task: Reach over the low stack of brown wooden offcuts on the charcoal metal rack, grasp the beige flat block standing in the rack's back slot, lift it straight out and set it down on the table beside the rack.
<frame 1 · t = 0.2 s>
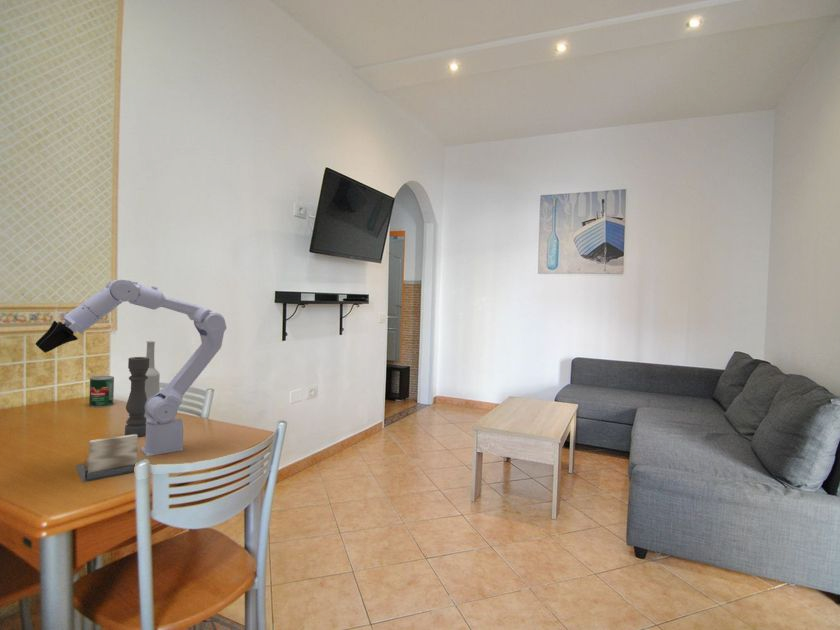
hand: (39, 348, 112), 31 cm above the table, fingers open, 7 cm apart
beige flat block: (112, 473, 114), resting on rack
rack: (109, 469, 117), on the table
canned tomato: (101, 405, 179), on the table
offcut stack: (107, 463, 120), resting on rack
bottle: (147, 417, 165), on the table
candle holder: (136, 436, 145), on the table
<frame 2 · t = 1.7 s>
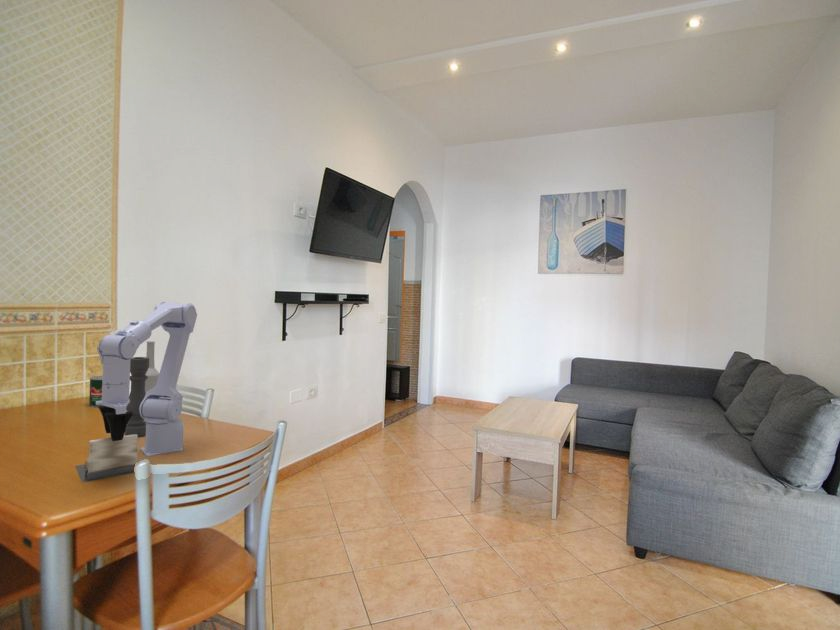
hand: (114, 436, 114), 10 cm above the table, fingers open, 7 cm apart
nothing on the table moved.
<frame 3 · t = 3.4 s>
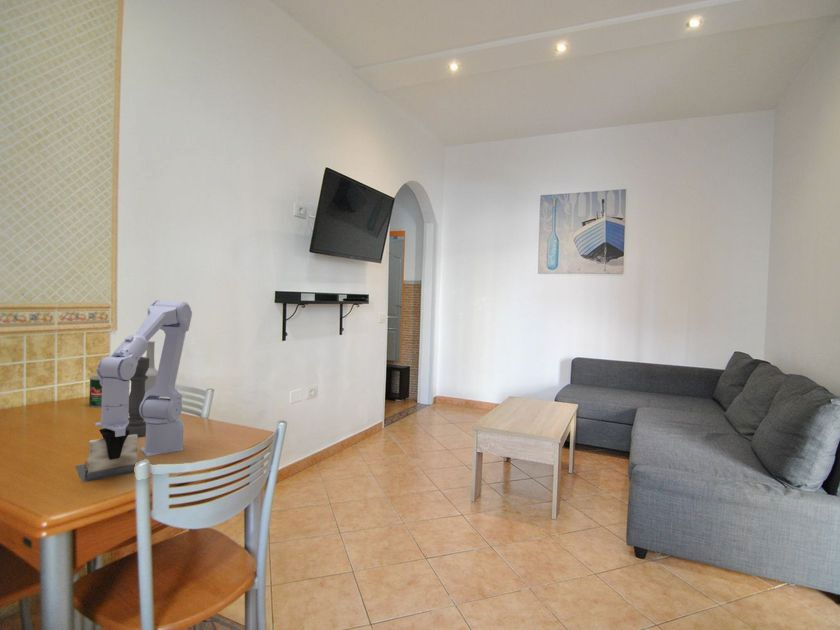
hand: (113, 457, 114), 4 cm above the table, fingers closed on beige flat block, 1 cm apart
beige flat block: (112, 473, 114), resting on rack, touching gripper
everything else where it was.
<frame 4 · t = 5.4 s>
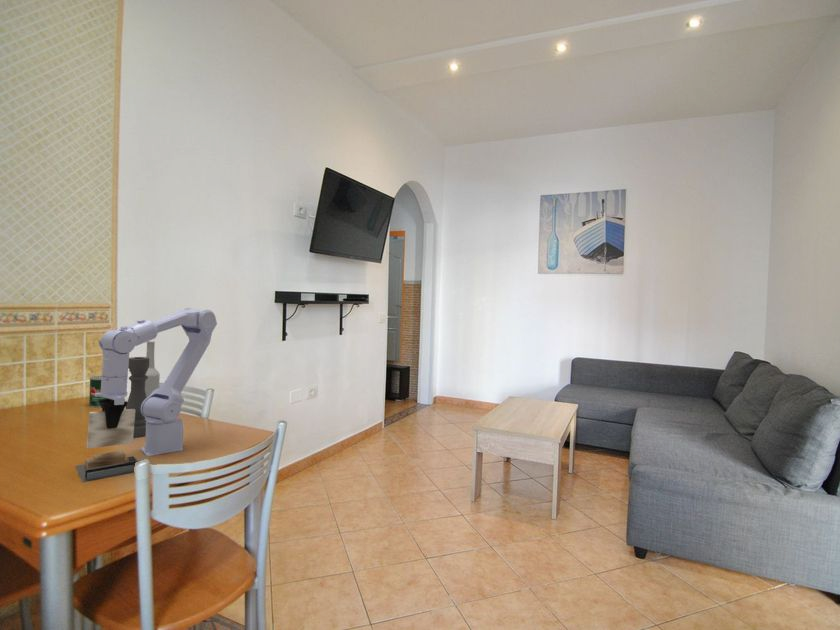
hand: (111, 427, 119), 10 cm above the table, fingers closed on beige flat block
beige flat block: (110, 444, 119), point 6 cm above the table, touching gripper
everything else where it was.
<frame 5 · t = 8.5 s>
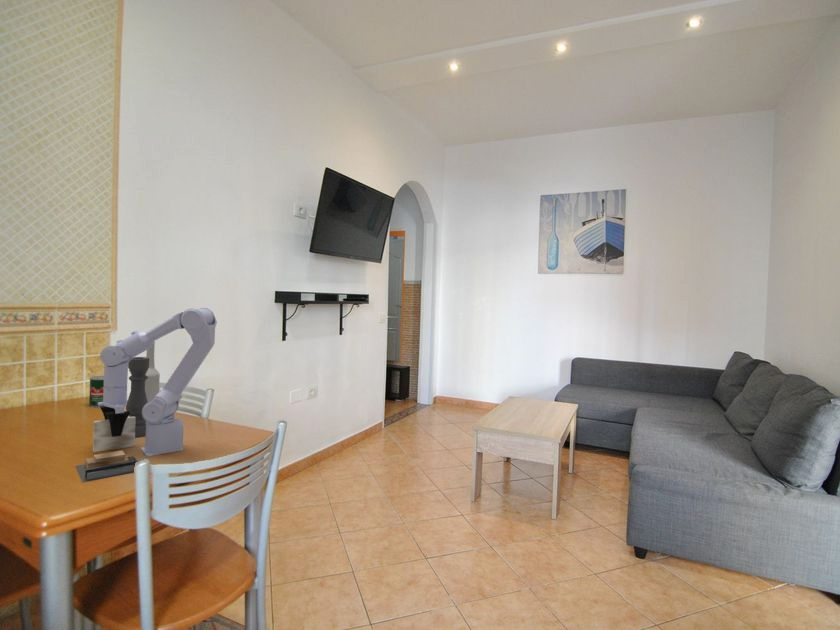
hand: (113, 432, 131), 5 cm above the table, fingers open, 7 cm apart
beige flat block: (114, 449, 131), on the table
everything else where it was.
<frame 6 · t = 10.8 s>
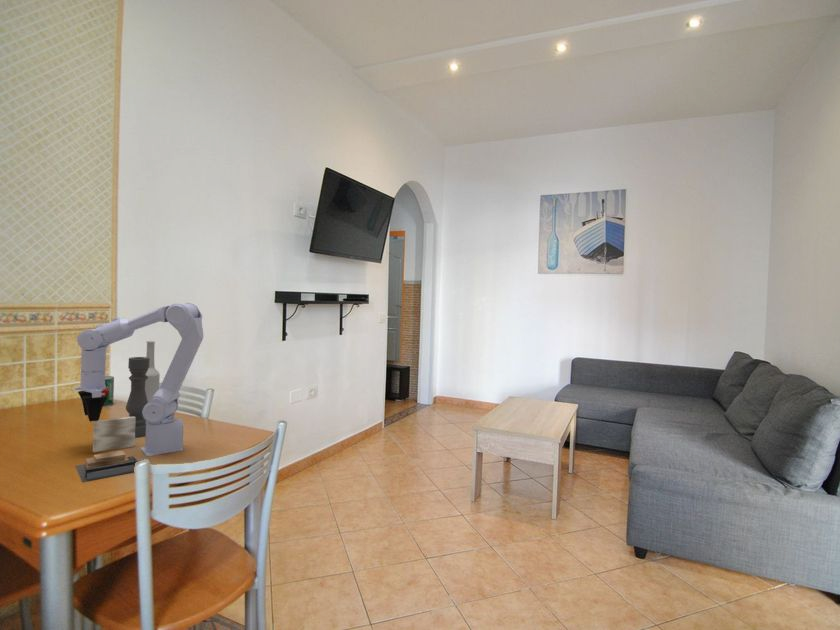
hand: (91, 417, 130), 9 cm above the table, fingers open, 7 cm apart
nothing on the table moved.
at the end: beige flat block inside the target area (0.2 cm from its centre), on the table; beige flat block touching table; the gripper is holding nothing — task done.
